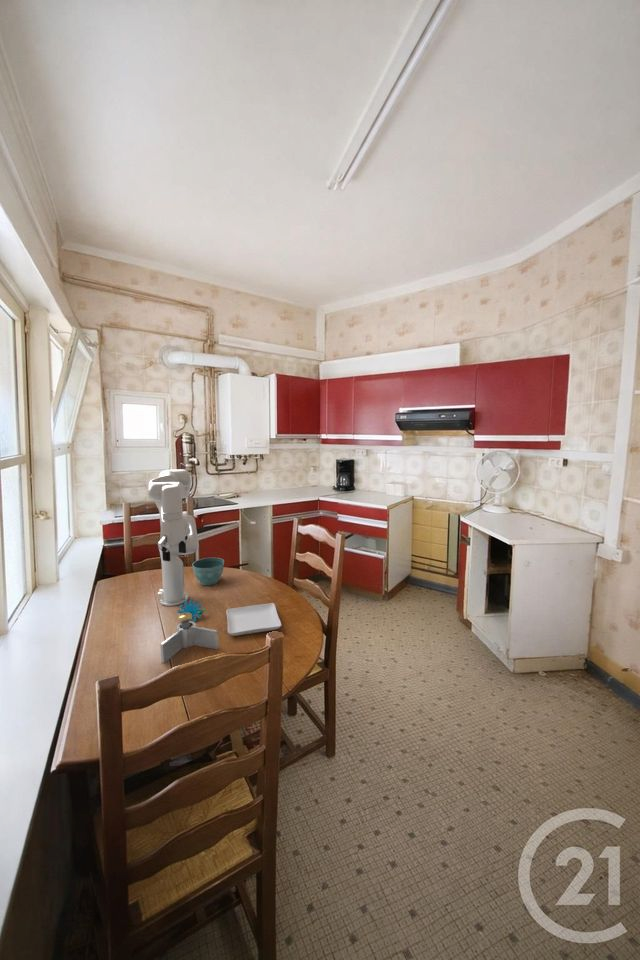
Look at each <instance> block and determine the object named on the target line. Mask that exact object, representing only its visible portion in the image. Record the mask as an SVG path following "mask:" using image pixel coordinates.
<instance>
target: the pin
mask: <svg viewBox="0 0 640 960" xmlns="http://www.w3.org/2000/svg"><path fill="white" fill-rule="evenodd" d="M191 618H192V619H193V617H192V613H190V612H185V613H179V614H178V621H179V622H180V623H181V628H183V629H185V628H189V627H190V619H191ZM192 619H191V620H192Z"/></svg>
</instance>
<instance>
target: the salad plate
mask: <svg viewBox="0 0 640 960" xmlns="http://www.w3.org/2000/svg"><path fill="white" fill-rule="evenodd" d="M225 613H226V620H227V634H228V635H230V636H242V635H247V634H248V635H249V634H257V633H262V632H263V633H264V632H269V631H275V630H278V629H280V628H281V627H282V622H281V620H280V617H279V614H278V612H277V608H276V604H275V603H274V602H269V603H263V604H254V605H253V604H252V605H247V606H241V607H233V608H227V609H226V612H225Z"/></svg>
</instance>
